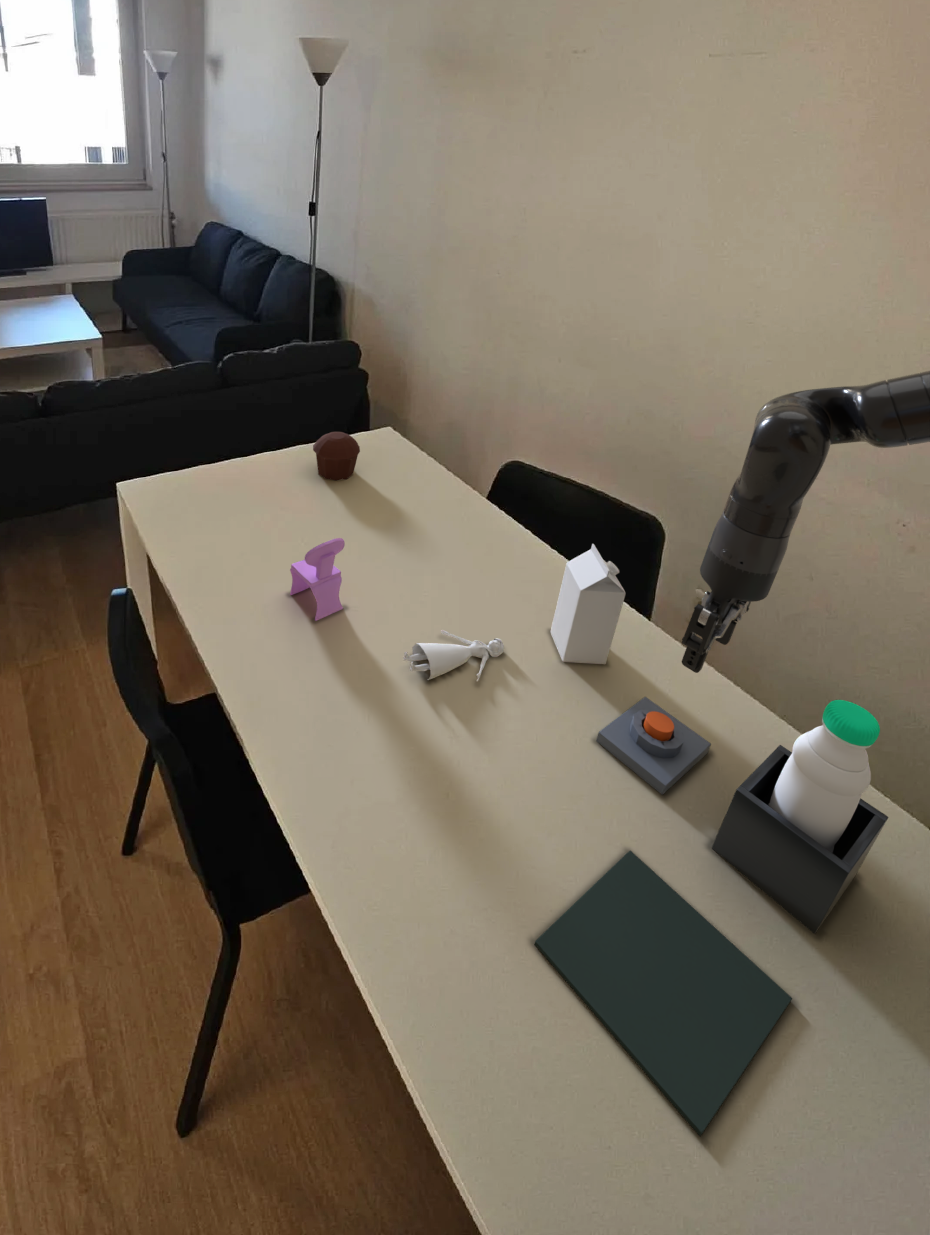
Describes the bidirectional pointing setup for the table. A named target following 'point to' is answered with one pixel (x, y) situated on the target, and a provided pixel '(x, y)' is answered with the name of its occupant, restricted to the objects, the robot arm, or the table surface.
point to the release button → (658, 726)
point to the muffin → (336, 455)
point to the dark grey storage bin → (792, 847)
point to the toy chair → (320, 576)
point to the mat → (665, 986)
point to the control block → (653, 746)
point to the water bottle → (827, 773)
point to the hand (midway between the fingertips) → (705, 653)
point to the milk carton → (587, 609)
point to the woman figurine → (451, 654)
